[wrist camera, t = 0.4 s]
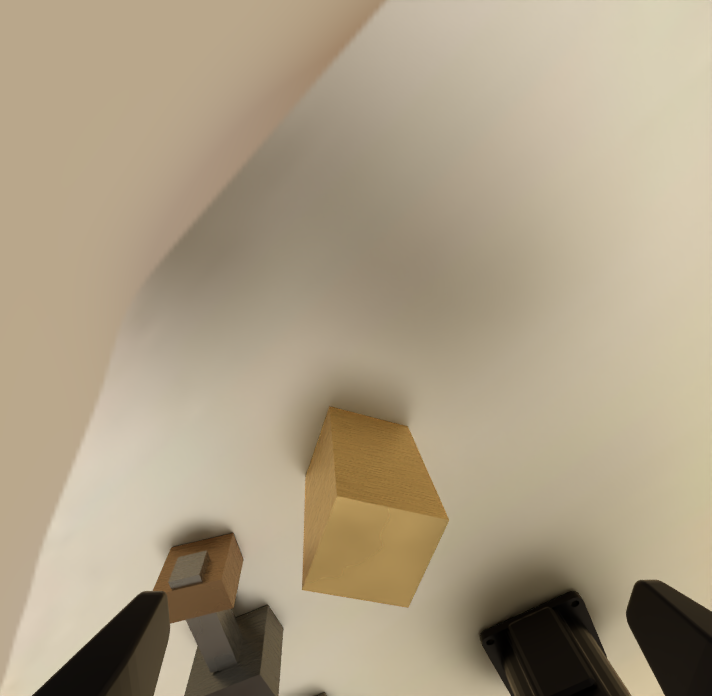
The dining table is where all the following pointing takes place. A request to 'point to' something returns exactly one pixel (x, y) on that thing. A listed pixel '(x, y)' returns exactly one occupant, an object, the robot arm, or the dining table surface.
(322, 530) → the coupler
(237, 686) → the shaft rig
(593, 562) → the dining table surface
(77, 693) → the robot arm
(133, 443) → the dining table surface
